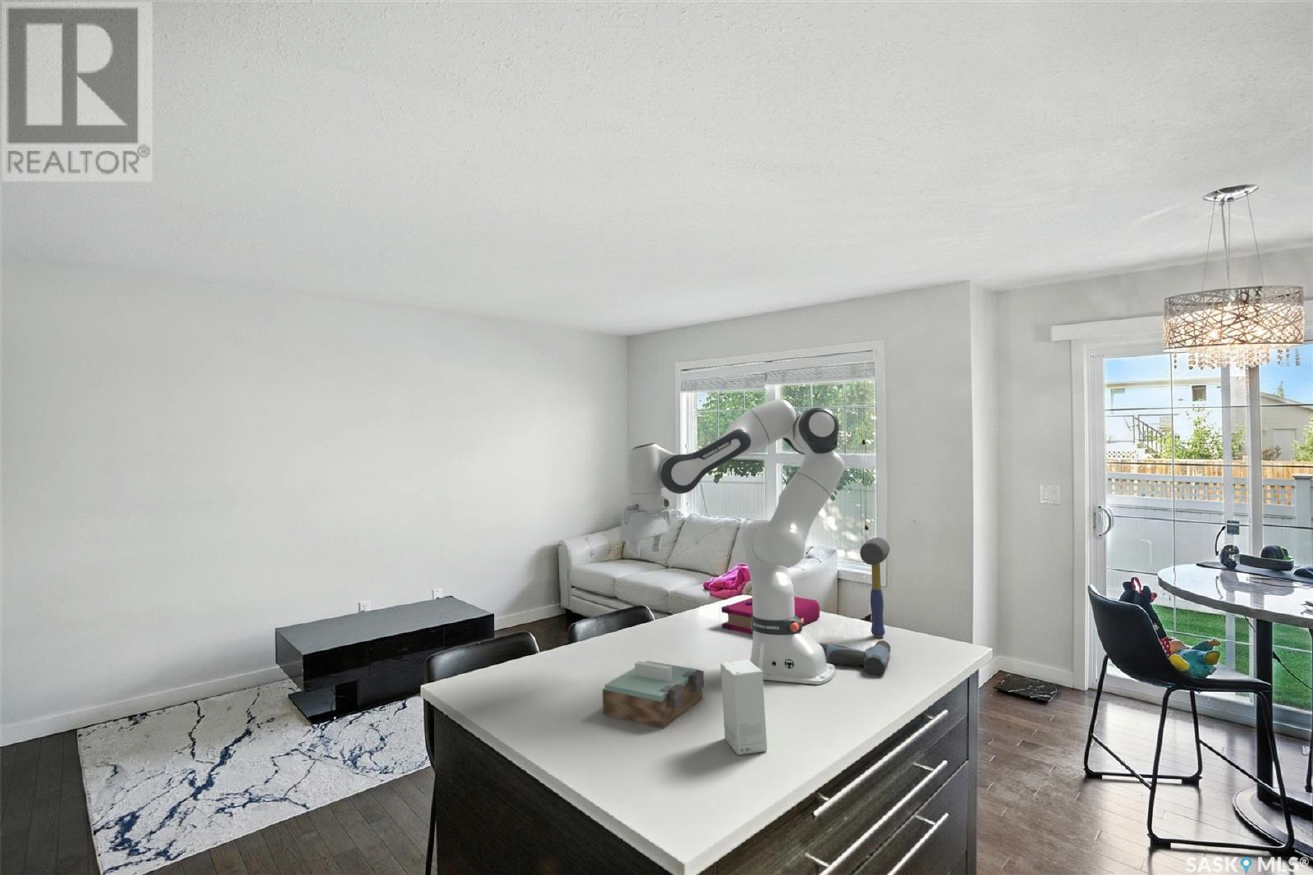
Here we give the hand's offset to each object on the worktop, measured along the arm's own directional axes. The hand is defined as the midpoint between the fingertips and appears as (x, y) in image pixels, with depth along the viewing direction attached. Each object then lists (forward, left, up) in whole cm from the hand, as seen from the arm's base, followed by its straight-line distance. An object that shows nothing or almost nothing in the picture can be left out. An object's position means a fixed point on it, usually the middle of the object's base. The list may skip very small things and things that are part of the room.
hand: (647, 554), depth 173 cm
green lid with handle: (-14, +21, -26) cm, 36 cm away
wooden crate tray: (-14, +21, -31) cm, 40 cm away
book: (-13, -55, -32) cm, 65 cm away
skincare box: (-40, +29, -31) cm, 58 cm away
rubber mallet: (-48, -55, -31) cm, 79 cm away
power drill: (-46, -30, -32) cm, 64 cm away
